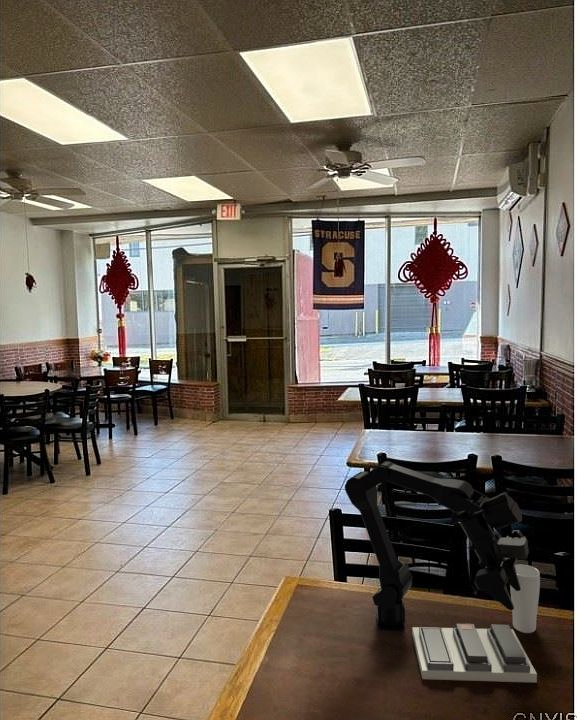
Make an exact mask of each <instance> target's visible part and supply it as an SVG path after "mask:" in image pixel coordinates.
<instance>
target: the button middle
mask: <svg viewBox="0 0 577 720" xmlns="http://www.w3.org/2000/svg"><path fill="white" fill-rule="evenodd" d="M455 625H456V627H455V628H456V630H457V633H458V635H459V638H460V641H461V643H462V646H463V649H464V652H465V654H466V657H467V660H468V662H476V663H487V654H486V652H485V649H484V647H483V645H482V642H481V640H480V638H479V635H478V633H477V631H476V629H477V628H476V627H475V624H474V623H456V624H455Z"/></svg>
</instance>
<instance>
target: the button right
mask: <svg viewBox="0 0 577 720" xmlns="http://www.w3.org/2000/svg"><path fill="white" fill-rule="evenodd" d="M490 629H491V632H492V634H493V636H494V638H495V640H496V642H497V644H498V646H499V649H500V651H501V653H502V655H503V657H504V659H505V661H506V663H513V664H526V657H525V655H524V653H523V651H522V649H521V648H520V646H519V644H518V642H517V640H516V638H515V636H514V634H513V633H512V631H511V627H510V625H509V624H490Z"/></svg>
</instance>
